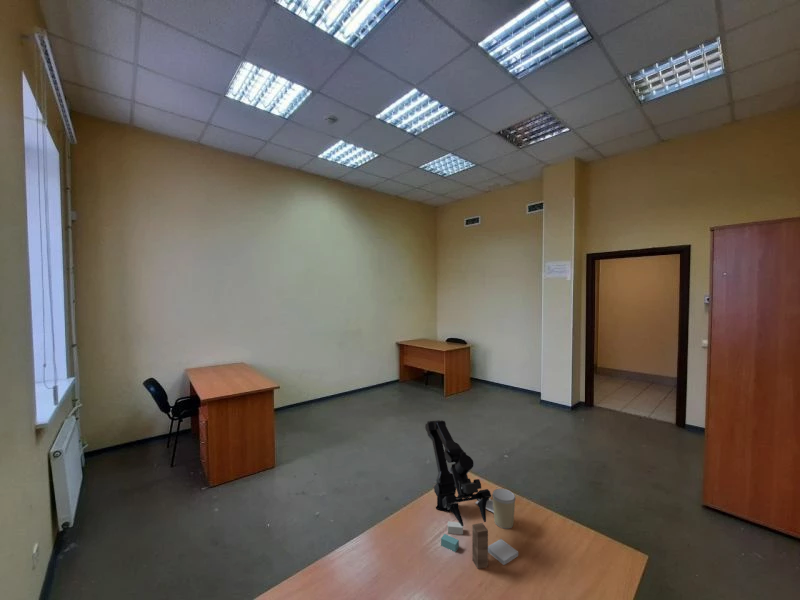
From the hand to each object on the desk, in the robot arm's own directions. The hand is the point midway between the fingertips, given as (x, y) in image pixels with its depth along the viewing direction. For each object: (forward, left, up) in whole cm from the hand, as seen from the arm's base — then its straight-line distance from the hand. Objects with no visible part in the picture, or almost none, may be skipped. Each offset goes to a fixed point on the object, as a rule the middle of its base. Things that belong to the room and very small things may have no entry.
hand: (474, 523), depth 123 cm
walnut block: (+3, -4, -11) cm, 12 cm away
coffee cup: (+9, +22, -11) cm, 27 cm away
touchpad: (+4, +31, -12) cm, 34 cm away
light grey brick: (-9, +9, -11) cm, 17 cm away
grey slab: (+10, +4, -12) cm, 16 cm away
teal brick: (-9, 0, -11) cm, 15 cm away
